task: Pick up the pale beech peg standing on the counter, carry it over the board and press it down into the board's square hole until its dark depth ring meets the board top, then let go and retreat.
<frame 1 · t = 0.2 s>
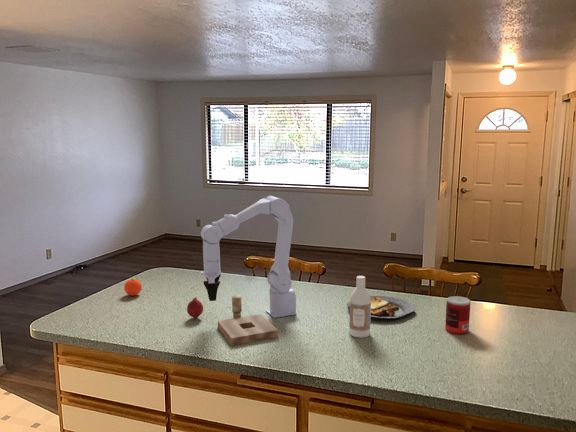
hand: (213, 296, 177), 10 cm above the kitchen counter, fingers open, 7 cm apart
bath foam: (359, 334, 169), on the kitchen counter
clementine: (134, 295, 210), on the kitchen counter
pomegranate: (195, 318, 184), on the kitchen counter
board: (247, 332, 171), on the kitchen counter
canned food: (456, 331, 172), on the kitchen counter
peg: (237, 318, 184), on the kitchen counter
food plate: (379, 311, 191), on the kitchen counter
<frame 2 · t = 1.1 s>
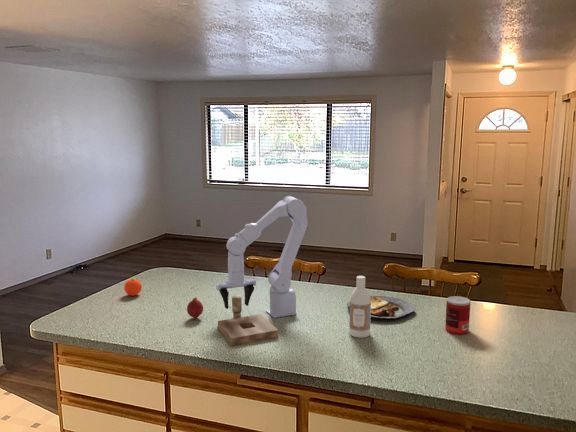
hand: (236, 306, 183), 4 cm above the kitchen counter, fingers open, 7 cm apart
nothing on the kitchen counter moved.
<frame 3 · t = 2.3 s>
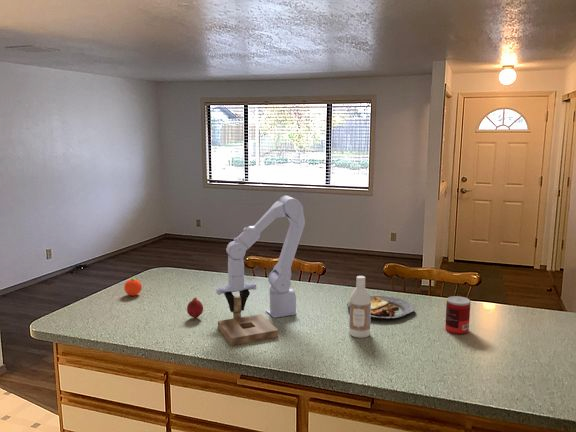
hand: (236, 310, 183), 3 cm above the kitchen counter, fingers closed on peg, 3 cm apart
peg: (237, 318, 184), on the kitchen counter, touching gripper
everything else where it was.
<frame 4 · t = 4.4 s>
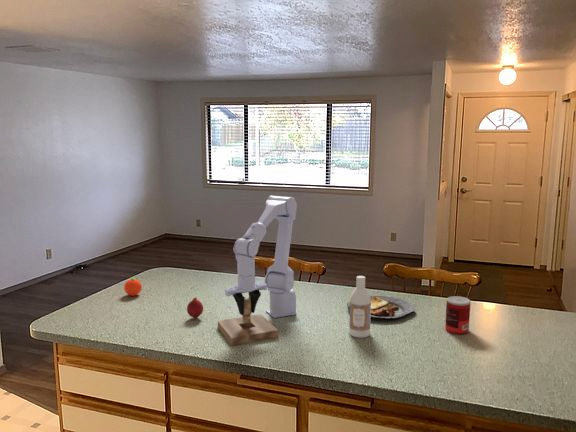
hand: (246, 312, 170), 7 cm above the kitchen counter, fingers closed on peg, 3 cm apart
peg: (246, 321, 170), point 4 cm above the kitchen counter, touching gripper
everything else where it was.
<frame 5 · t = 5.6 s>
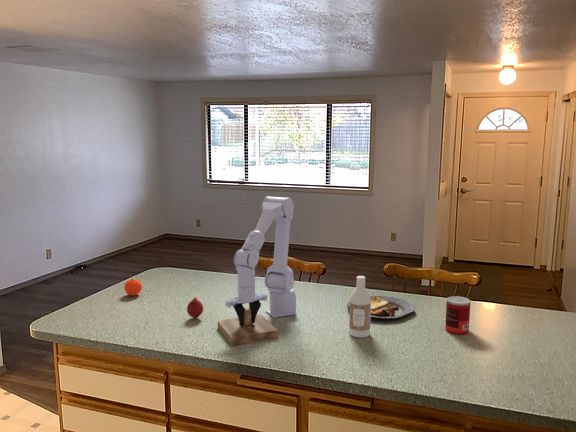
hand: (247, 323, 170), 3 cm above the kitchen counter, fingers closed on peg, 3 cm apart
peg: (246, 332, 171), resting in board, touching gripper
everything else where it was.
when the fingers open (3 cm above the kitchen counter, at t = 6.3 s): peg stays where it is, resting in board.
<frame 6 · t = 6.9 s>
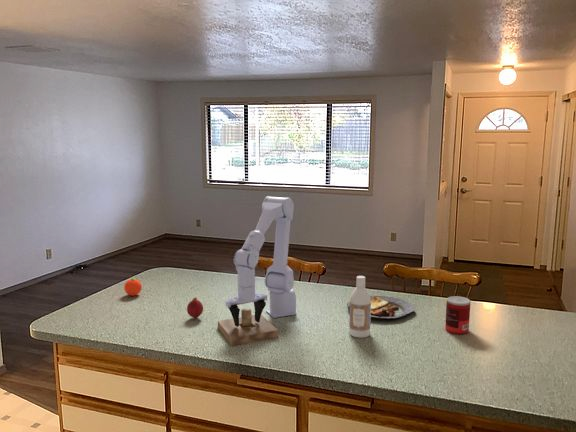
hand: (247, 323, 170), 3 cm above the kitchen counter, fingers open, 7 cm apart
peg: (246, 332, 171), resting in board
everything else where it was.
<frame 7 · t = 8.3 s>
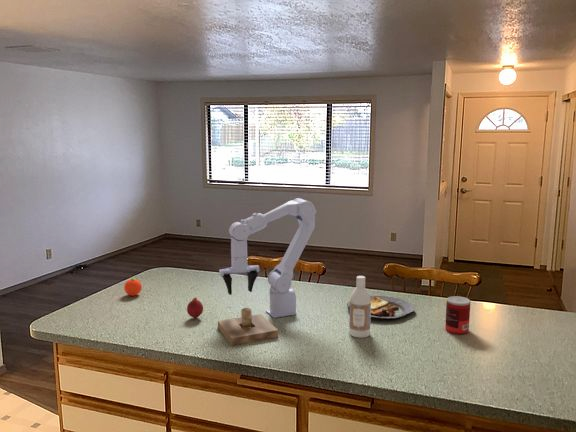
hand: (240, 292, 182), 10 cm above the kitchen counter, fingers open, 7 cm apart
nothing on the kitchen counter moved.
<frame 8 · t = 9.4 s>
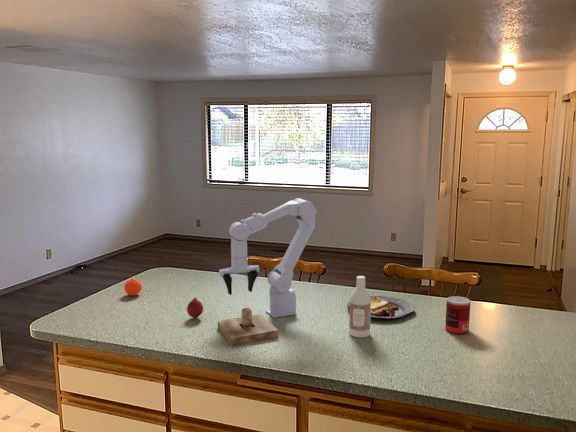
hand: (240, 292, 182), 10 cm above the kitchen counter, fingers open, 7 cm apart
nothing on the kitchen counter moved.
at the end: peg 0.3 cm off-centre on the board, point 0.0 cm above the board's base; peg tilted 0°; the gripper is holding nothing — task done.
